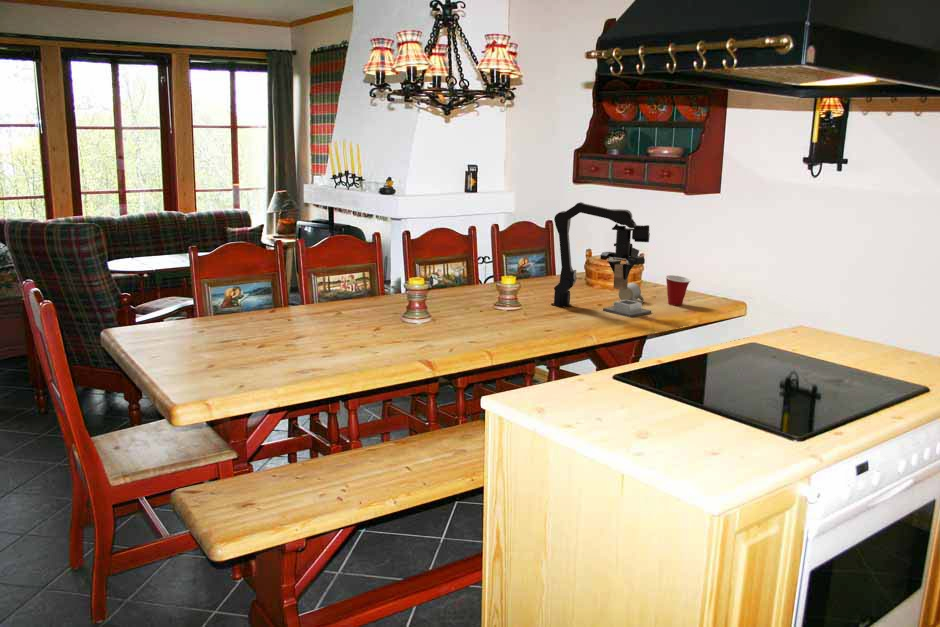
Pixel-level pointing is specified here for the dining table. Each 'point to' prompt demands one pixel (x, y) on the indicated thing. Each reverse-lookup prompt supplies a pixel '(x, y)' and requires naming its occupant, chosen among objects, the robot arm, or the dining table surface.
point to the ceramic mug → (631, 293)
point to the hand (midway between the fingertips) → (621, 278)
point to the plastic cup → (676, 289)
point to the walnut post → (619, 278)
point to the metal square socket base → (627, 308)
